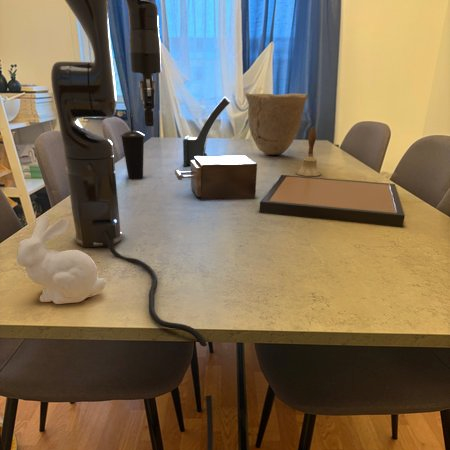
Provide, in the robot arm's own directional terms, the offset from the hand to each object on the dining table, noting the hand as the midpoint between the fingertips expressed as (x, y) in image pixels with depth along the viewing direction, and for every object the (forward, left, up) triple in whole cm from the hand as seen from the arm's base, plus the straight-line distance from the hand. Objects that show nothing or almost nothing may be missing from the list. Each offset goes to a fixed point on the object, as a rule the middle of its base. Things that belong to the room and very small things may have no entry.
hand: (149, 125), depth 116 cm
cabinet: (0, -21, -19) cm, 28 cm away
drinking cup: (+25, +4, -19) cm, 32 cm away
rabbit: (-60, +19, -19) cm, 66 cm away
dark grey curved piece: (+45, -24, -19) cm, 54 cm away
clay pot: (+65, -58, -19) cm, 89 cm away
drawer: (0, -17, -18) cm, 25 cm away
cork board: (-13, -50, -19) cm, 55 cm away
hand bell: (+24, -58, -19) cm, 66 cm away
